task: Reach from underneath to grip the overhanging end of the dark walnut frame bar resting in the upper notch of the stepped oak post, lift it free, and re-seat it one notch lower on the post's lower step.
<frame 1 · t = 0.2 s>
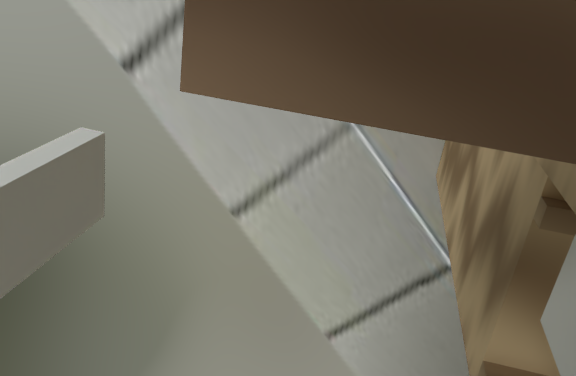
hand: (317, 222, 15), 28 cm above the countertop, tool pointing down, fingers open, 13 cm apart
notch post: (551, 76, 38), on the countertop
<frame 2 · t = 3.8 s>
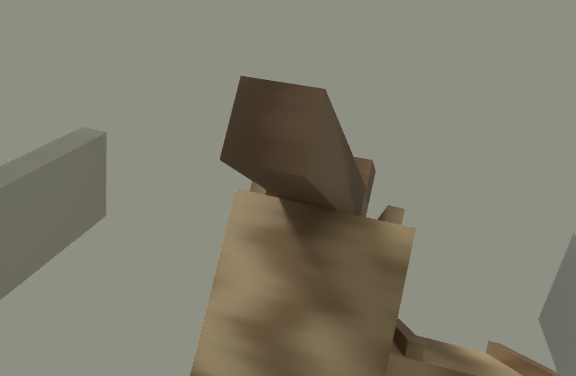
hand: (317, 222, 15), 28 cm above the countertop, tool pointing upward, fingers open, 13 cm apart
frame bar: (317, 211, 29), point 30 cm above the countertop, touching notch post
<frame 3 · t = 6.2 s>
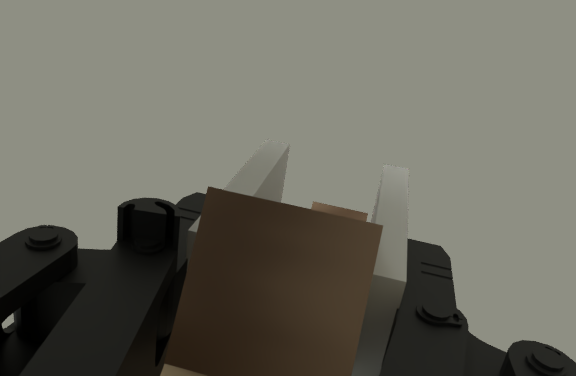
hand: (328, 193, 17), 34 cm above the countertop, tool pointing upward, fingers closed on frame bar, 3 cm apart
frame bar: (308, 314, 20), point 30 cm above the countertop, touching gripper, notch post
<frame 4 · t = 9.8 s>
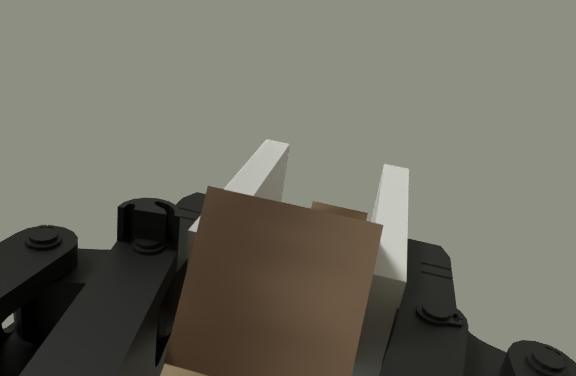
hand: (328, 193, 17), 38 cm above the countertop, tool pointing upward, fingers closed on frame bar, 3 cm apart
frame bar: (308, 314, 20), point 34 cm above the countertop, touching gripper
when the fingers open (30 cm above the countertop, at t = 13.6 s): frame bar drops 2 cm, resting on notch post.
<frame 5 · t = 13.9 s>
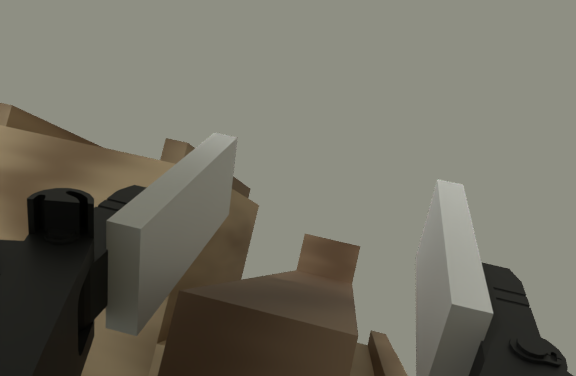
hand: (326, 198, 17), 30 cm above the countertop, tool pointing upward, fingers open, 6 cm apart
frame bar: (296, 361, 20), point 24 cm above the countertop, touching notch post
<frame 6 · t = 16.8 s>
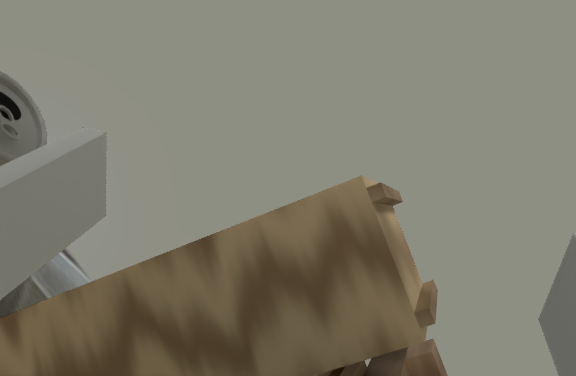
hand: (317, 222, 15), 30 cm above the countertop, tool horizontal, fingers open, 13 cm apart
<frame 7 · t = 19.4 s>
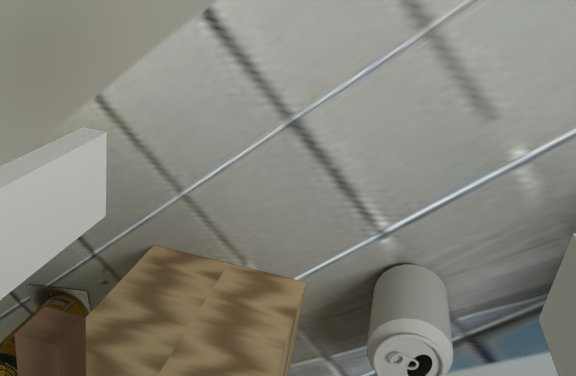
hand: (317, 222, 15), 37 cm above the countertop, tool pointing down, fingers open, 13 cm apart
condiment: (63, 310, 69), on the countertop
notch post: (223, 306, 63), on the countertop
can: (409, 290, 57), on the countertop
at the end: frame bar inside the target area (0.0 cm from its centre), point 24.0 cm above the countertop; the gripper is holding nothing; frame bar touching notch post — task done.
